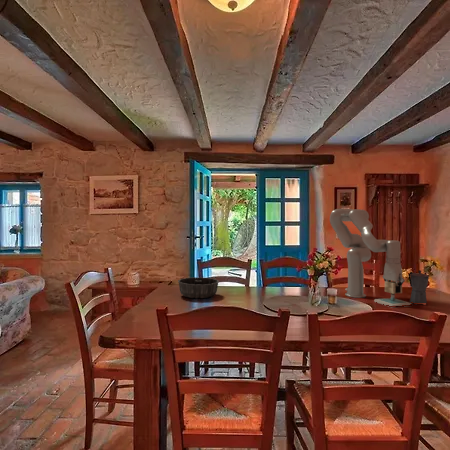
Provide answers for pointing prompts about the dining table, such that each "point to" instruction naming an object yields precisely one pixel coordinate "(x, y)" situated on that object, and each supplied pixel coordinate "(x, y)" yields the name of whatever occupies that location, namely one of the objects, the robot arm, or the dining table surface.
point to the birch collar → (391, 287)
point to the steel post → (392, 297)
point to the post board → (391, 302)
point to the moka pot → (418, 287)
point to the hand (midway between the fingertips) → (393, 291)
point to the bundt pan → (198, 287)
